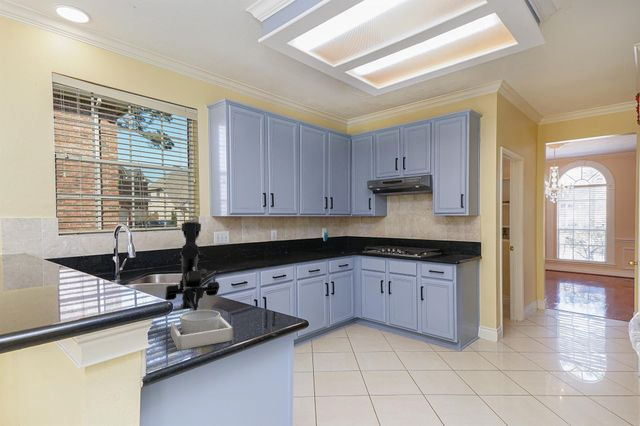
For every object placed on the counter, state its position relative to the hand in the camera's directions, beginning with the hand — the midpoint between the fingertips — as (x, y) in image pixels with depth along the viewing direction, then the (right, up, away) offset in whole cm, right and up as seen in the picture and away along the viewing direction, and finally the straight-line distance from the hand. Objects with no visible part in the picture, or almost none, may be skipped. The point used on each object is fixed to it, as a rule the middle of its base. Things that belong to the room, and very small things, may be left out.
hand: (195, 310), depth 120 cm
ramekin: (+4, -7, -5) cm, 10 cm away
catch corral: (+5, -7, -8) cm, 12 cm away
